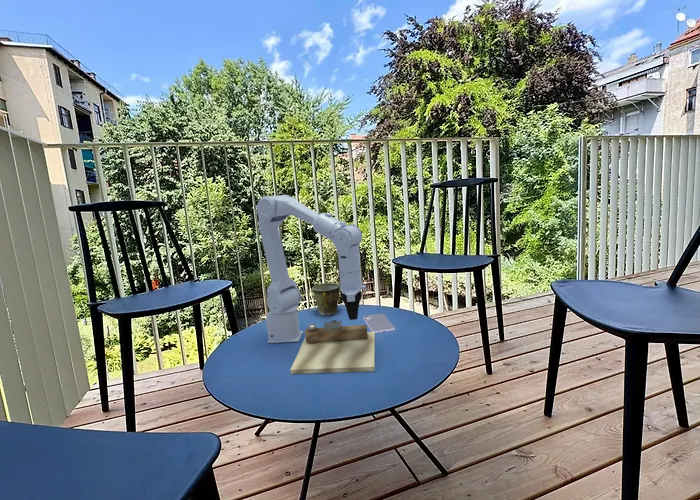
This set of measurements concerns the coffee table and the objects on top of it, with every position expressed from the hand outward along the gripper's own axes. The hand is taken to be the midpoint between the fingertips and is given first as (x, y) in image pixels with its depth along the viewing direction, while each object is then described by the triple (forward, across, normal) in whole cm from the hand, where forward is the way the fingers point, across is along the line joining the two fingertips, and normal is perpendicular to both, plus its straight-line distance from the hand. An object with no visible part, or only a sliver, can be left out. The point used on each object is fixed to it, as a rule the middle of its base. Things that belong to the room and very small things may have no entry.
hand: (353, 318), depth 102 cm
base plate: (+9, -1, +5) cm, 11 cm away
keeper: (+8, +7, +9) cm, 14 cm away
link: (+8, +6, +6) cm, 11 cm away
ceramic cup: (+10, +32, +10) cm, 35 cm away
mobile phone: (+10, +20, -8) cm, 23 cm away
